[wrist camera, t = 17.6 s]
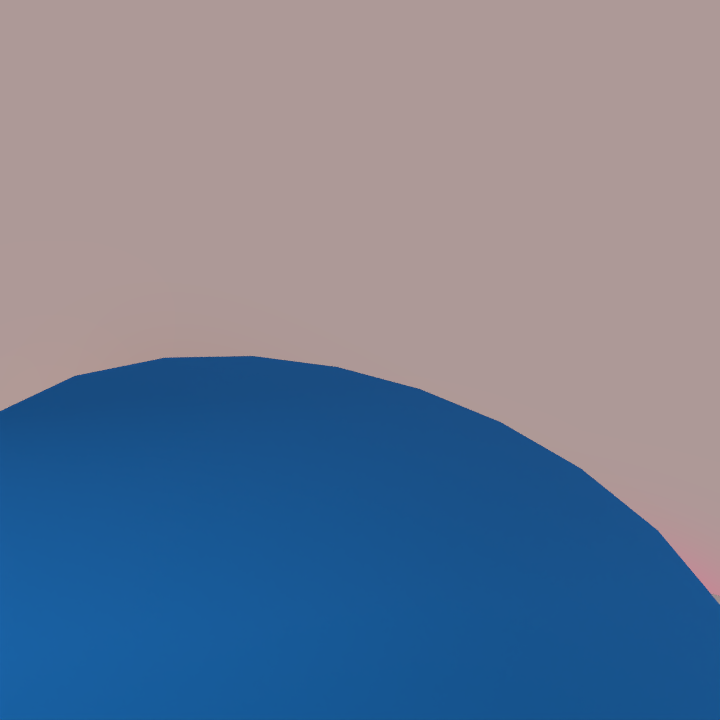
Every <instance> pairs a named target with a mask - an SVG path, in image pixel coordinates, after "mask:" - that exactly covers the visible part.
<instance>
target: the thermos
mask: <svg viewBox="0 0 720 720" xmlns="http://www.w3.org/2000/svg"><path fill="white" fill-rule="evenodd" d="M0 720H720V604H719V603H718V602H717V601H716V599H715V598H714V597H713V596H712V595H711V594H710V593H709V591H708V590H707V589H706V588H705V586H704V585H703V584H702V583H701V582H700V581H699V579H698V578H697V577H696V576H695V574H694V573H693V572H692V571H691V570H690V568H689V567H688V566H687V565H686V564H685V562H684V561H683V560H682V559H681V558H680V557H679V556H678V554H677V553H676V552H675V551H674V549H673V548H672V547H671V546H670V545H669V543H668V542H667V541H666V540H665V539H664V537H663V536H662V535H661V534H660V533H659V532H658V530H656V529H655V528H654V527H652V526H651V525H650V524H649V523H648V522H646V521H645V520H644V519H642V518H641V517H640V516H639V515H638V514H636V513H635V512H634V511H633V510H632V509H630V508H629V507H628V506H627V505H625V504H624V503H623V502H622V501H620V500H619V499H618V498H617V497H615V496H614V495H613V494H612V493H610V492H609V491H608V490H607V489H605V488H604V487H603V486H602V485H601V484H599V483H598V482H597V481H596V480H594V479H593V478H592V477H591V476H589V475H588V474H587V473H586V472H584V471H583V470H582V469H580V468H579V467H577V466H575V465H574V464H572V463H570V462H568V461H567V460H565V459H563V458H562V457H560V456H558V455H556V454H555V453H553V452H551V451H549V450H548V449H546V448H544V447H543V446H541V445H539V444H537V443H536V442H534V441H532V440H530V439H529V438H527V437H525V436H523V435H522V434H520V433H518V432H516V431H515V430H513V429H511V428H510V427H508V426H506V425H504V424H503V423H501V422H499V421H496V420H494V419H491V418H489V417H486V416H484V415H481V414H479V413H477V412H474V411H472V410H469V409H467V408H464V407H462V406H460V405H457V404H455V403H452V402H450V401H447V400H445V399H443V398H440V397H438V396H435V395H433V394H430V393H428V392H425V391H423V390H421V389H417V388H413V387H410V386H406V385H402V384H398V383H395V382H391V381H387V380H384V379H380V378H376V377H372V376H368V375H365V374H361V373H357V372H354V371H350V370H346V369H342V368H339V367H332V366H325V365H317V364H308V363H302V362H293V361H286V360H278V359H271V358H263V357H255V356H238V357H235V356H234V357H180V358H162V359H157V360H152V361H147V362H142V363H137V364H132V365H127V366H122V367H117V368H112V369H107V370H102V371H97V372H92V373H87V374H82V375H77V376H74V377H72V378H70V379H68V380H65V381H63V382H61V383H59V384H57V385H55V386H53V387H51V388H49V389H46V390H44V391H42V392H40V393H38V394H36V395H34V396H32V397H29V398H27V399H25V400H23V401H21V402H19V403H17V404H15V405H12V406H10V407H8V408H6V409H4V410H2V411H0Z"/></svg>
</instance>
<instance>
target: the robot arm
mask: <svg viewBox="0 0 720 720" xmlns="http://www.w3.org/2000/svg"><path fill="white" fill-rule="evenodd" d="M711 595H712V596H713V597H714V598H715V599H716V601H717V602H718V603H719V604H720V596H717V595H713V594H711Z"/></svg>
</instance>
